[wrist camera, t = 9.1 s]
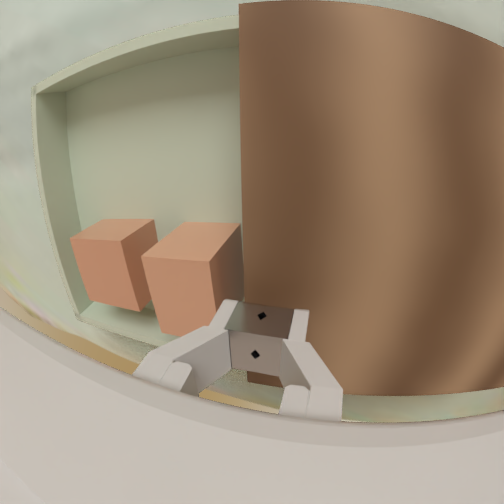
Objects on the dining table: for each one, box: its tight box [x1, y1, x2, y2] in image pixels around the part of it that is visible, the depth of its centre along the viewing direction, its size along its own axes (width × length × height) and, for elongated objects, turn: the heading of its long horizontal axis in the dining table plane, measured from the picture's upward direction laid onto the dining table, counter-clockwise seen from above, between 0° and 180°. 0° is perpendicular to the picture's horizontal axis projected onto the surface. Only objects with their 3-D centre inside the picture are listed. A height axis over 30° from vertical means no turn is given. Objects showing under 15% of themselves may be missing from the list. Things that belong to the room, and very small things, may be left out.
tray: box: [31, 15, 245, 347], centre depth 13 cm, size 13×16×3 cm
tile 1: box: [70, 219, 158, 312], centre depth 15 cm, size 4×4×3 cm
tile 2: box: [141, 222, 244, 337], centre depth 13 cm, size 4×4×3 cm
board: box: [239, 0, 504, 396], centre depth 10 cm, size 16×16×4 cm
